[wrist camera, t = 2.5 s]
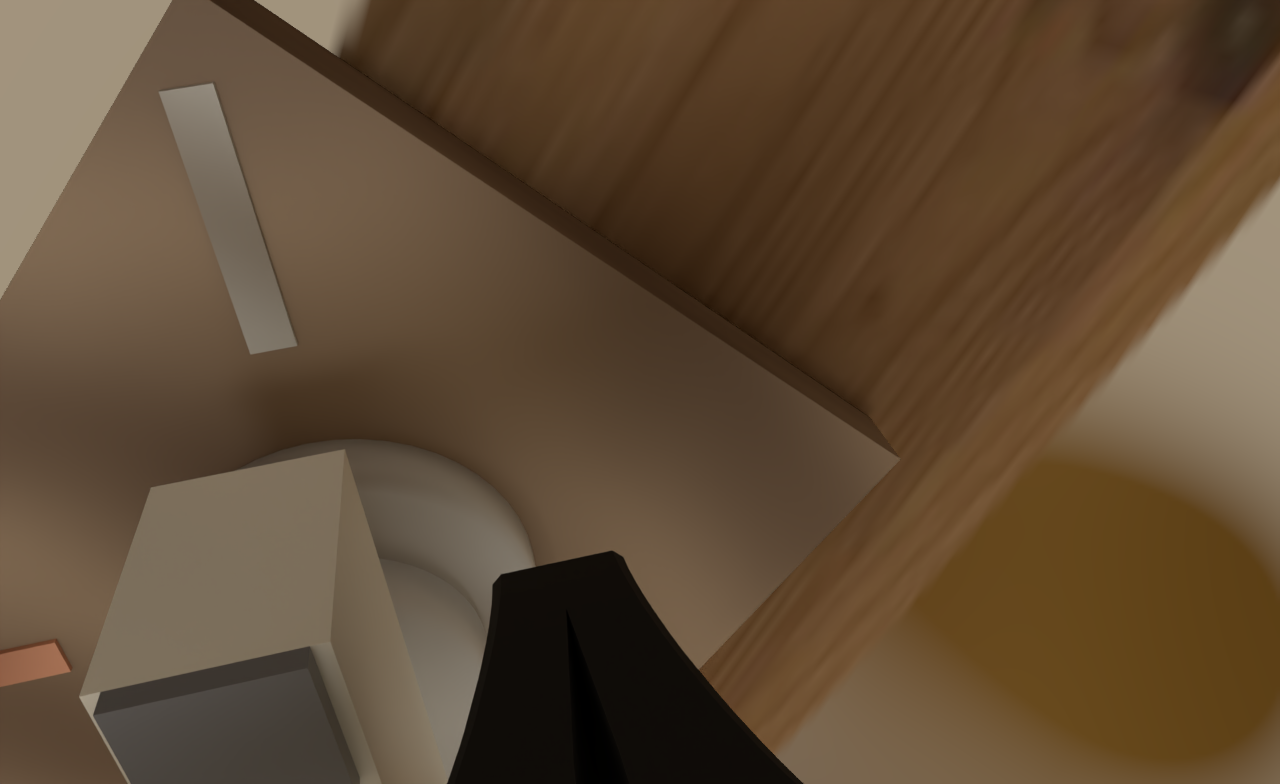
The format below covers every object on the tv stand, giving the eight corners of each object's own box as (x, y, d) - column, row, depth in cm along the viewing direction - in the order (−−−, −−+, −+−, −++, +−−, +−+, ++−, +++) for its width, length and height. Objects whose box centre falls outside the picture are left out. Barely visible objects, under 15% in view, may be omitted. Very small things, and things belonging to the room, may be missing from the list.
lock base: (448, 869, 25) (454, 991, 23) (-208, 672, 19) (-302, 812, 16) (870, 417, 21) (935, 506, 18) (201, -36, 14) (160, 3, 12)
